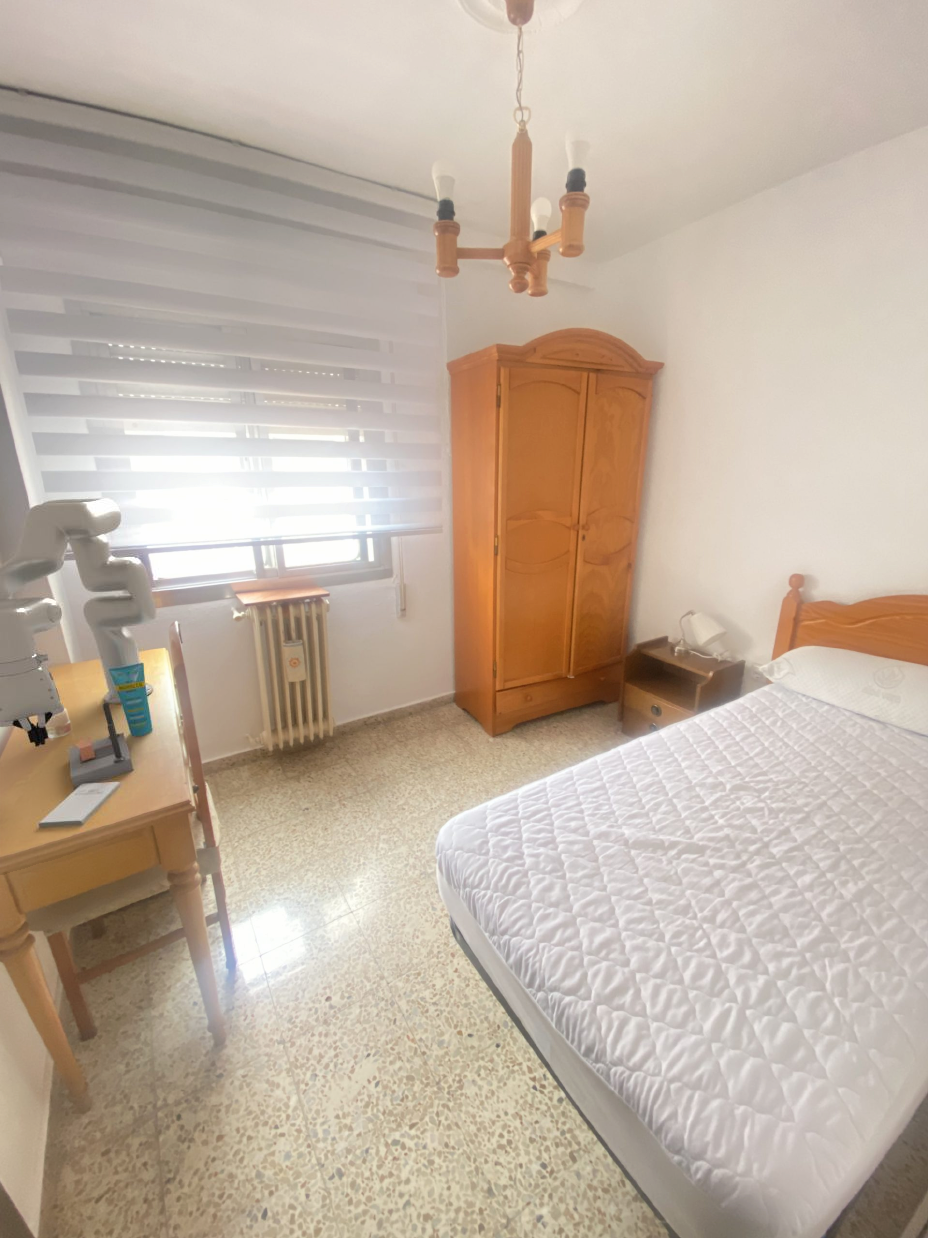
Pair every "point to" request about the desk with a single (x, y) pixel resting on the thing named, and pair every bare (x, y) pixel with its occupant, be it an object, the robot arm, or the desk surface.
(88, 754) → the block
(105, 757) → the grey switch base
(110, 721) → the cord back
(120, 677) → the tube
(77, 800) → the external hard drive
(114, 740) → the cord front
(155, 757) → the desk surface
